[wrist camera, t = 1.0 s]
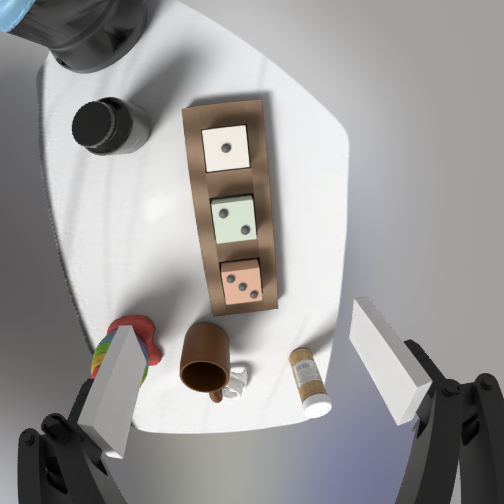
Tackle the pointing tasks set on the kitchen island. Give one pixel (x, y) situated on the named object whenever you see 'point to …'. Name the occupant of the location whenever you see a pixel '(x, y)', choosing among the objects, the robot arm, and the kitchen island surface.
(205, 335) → the mug
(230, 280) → the three-pip button
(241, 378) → the crumpled white paper
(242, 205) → the two-pip button
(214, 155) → the one-pip button
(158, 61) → the kitchen island surface
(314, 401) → the sprinkles bottle
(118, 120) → the supplement bottle
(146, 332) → the stacking bear
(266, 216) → the button board
